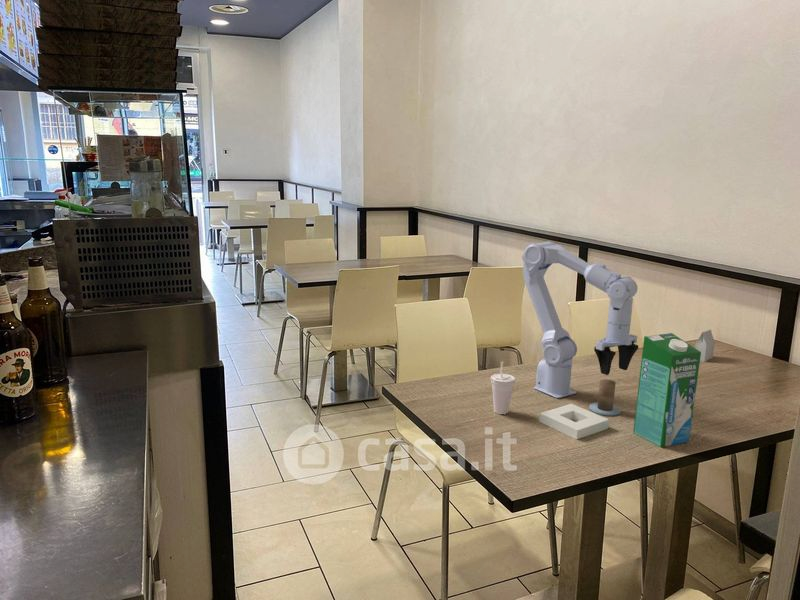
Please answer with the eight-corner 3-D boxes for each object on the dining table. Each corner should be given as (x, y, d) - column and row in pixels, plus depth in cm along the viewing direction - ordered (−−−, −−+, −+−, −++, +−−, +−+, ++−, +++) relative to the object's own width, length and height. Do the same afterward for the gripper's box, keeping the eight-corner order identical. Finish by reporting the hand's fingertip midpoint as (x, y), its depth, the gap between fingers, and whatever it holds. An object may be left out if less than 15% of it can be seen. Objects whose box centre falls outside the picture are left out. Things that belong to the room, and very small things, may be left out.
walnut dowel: (594, 407, 163) (596, 381, 162) (603, 404, 165) (606, 378, 164) (606, 412, 160) (608, 385, 158) (616, 409, 162) (618, 382, 160)
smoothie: (484, 408, 162) (487, 359, 159) (504, 405, 165) (507, 356, 161) (497, 418, 156) (500, 367, 153) (517, 414, 159) (521, 364, 156)
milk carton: (661, 447, 142) (674, 346, 136) (632, 432, 150) (643, 335, 144) (689, 441, 145) (702, 342, 140) (659, 426, 153) (671, 332, 148)
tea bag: (712, 358, 210) (716, 330, 208) (704, 362, 206) (708, 333, 204) (701, 355, 213) (705, 328, 211) (693, 359, 208) (697, 331, 206)
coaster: (582, 408, 164) (583, 406, 164) (601, 402, 168) (602, 400, 168) (607, 418, 157) (607, 416, 157) (626, 412, 162) (626, 409, 162)
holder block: (539, 421, 155) (540, 413, 154) (570, 412, 161) (571, 403, 161) (576, 439, 145) (577, 430, 144) (608, 428, 152) (609, 419, 151)
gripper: (613, 330, 152) (608, 380, 155) (649, 322, 160) (643, 371, 163) (591, 323, 158) (586, 372, 161) (626, 317, 166) (621, 363, 169)
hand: (613, 371), depth 162 cm, fingers open, 7 cm apart
